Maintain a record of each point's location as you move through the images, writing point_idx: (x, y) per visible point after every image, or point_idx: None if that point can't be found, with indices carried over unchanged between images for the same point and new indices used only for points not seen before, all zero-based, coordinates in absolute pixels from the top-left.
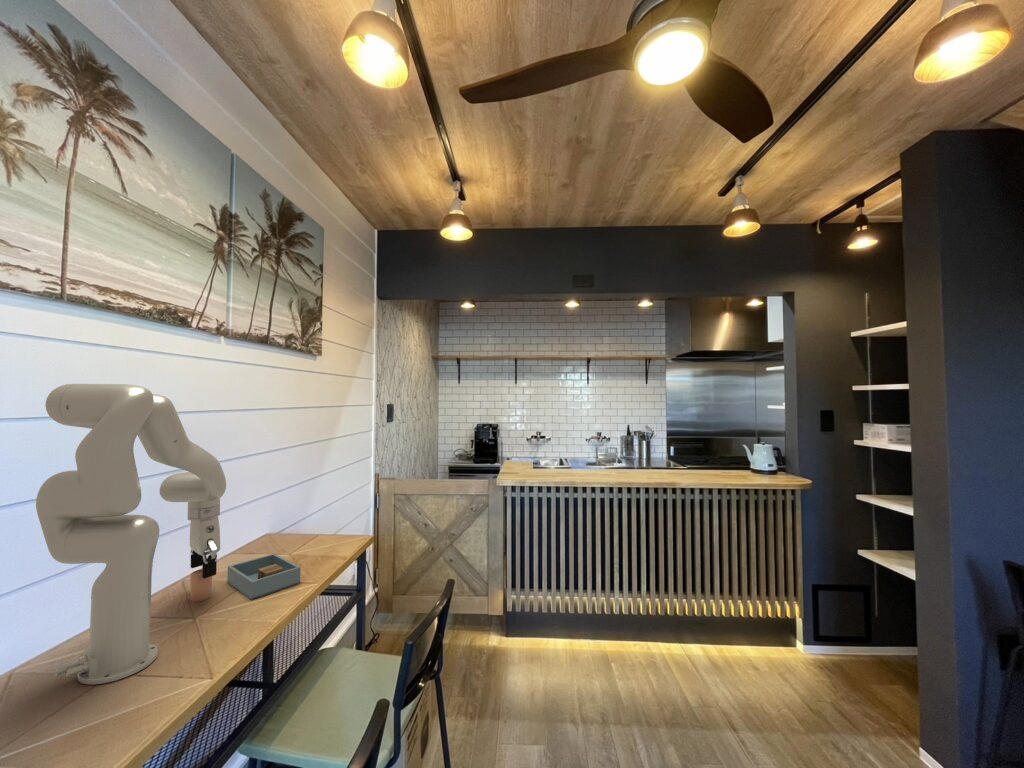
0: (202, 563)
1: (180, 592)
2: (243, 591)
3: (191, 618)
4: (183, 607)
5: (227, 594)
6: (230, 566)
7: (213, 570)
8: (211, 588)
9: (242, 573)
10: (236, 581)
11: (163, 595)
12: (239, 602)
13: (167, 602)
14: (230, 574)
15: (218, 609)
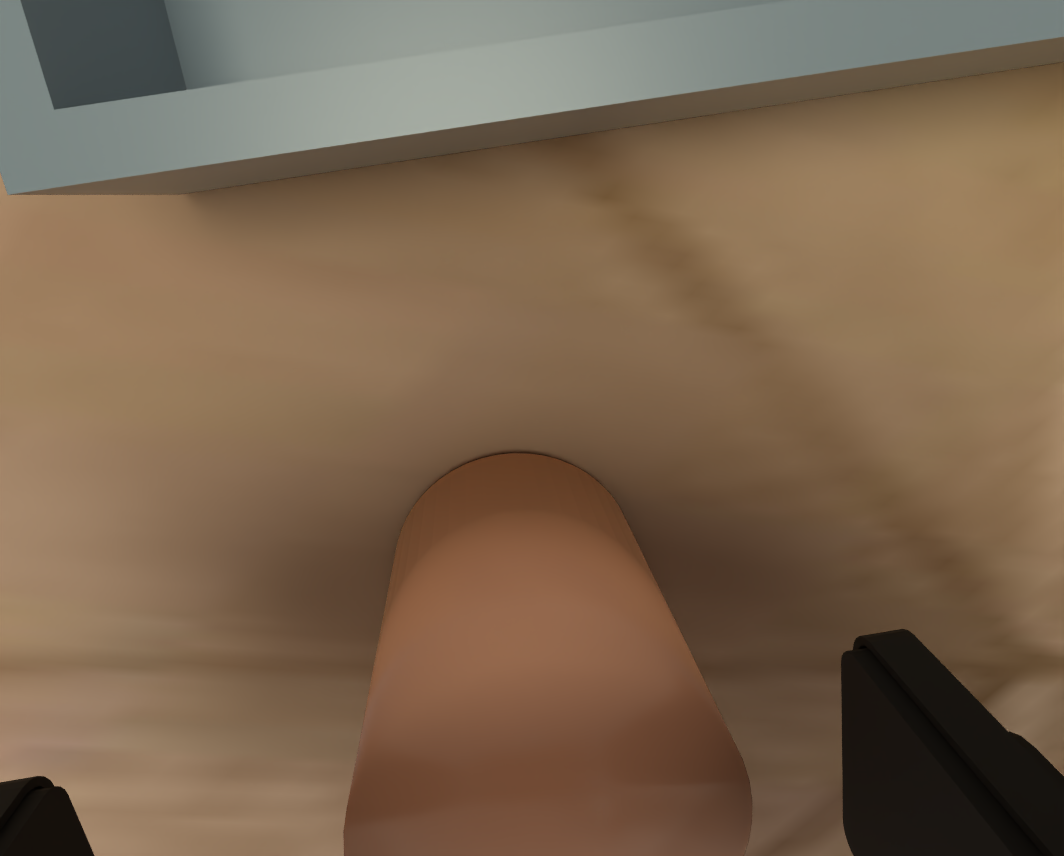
0: (49, 841)
1: (147, 716)
2: (870, 87)
3: (1007, 687)
4: None
5: (635, 275)
6: (64, 142)
7: (1056, 781)
8: (582, 504)
9: (794, 10)
10: (573, 125)
11: (130, 852)
12: (1040, 199)
13: None
14: (253, 169)
15: (1023, 447)
